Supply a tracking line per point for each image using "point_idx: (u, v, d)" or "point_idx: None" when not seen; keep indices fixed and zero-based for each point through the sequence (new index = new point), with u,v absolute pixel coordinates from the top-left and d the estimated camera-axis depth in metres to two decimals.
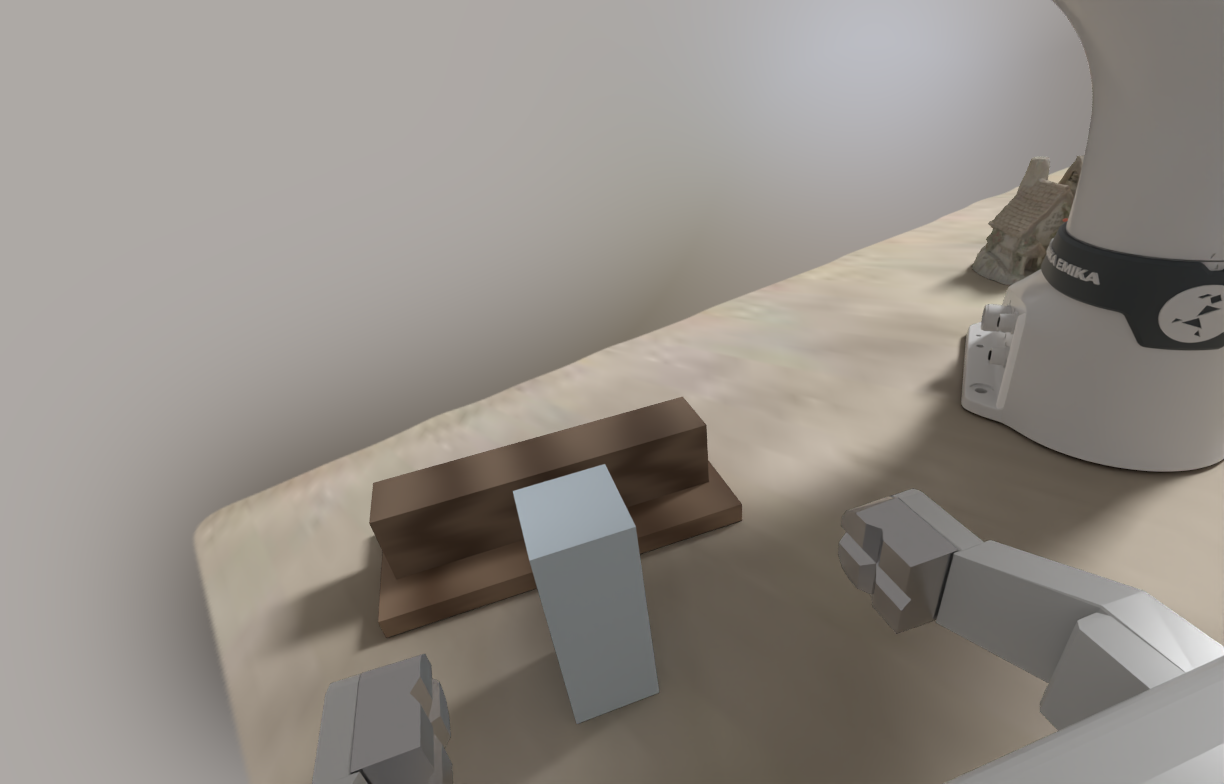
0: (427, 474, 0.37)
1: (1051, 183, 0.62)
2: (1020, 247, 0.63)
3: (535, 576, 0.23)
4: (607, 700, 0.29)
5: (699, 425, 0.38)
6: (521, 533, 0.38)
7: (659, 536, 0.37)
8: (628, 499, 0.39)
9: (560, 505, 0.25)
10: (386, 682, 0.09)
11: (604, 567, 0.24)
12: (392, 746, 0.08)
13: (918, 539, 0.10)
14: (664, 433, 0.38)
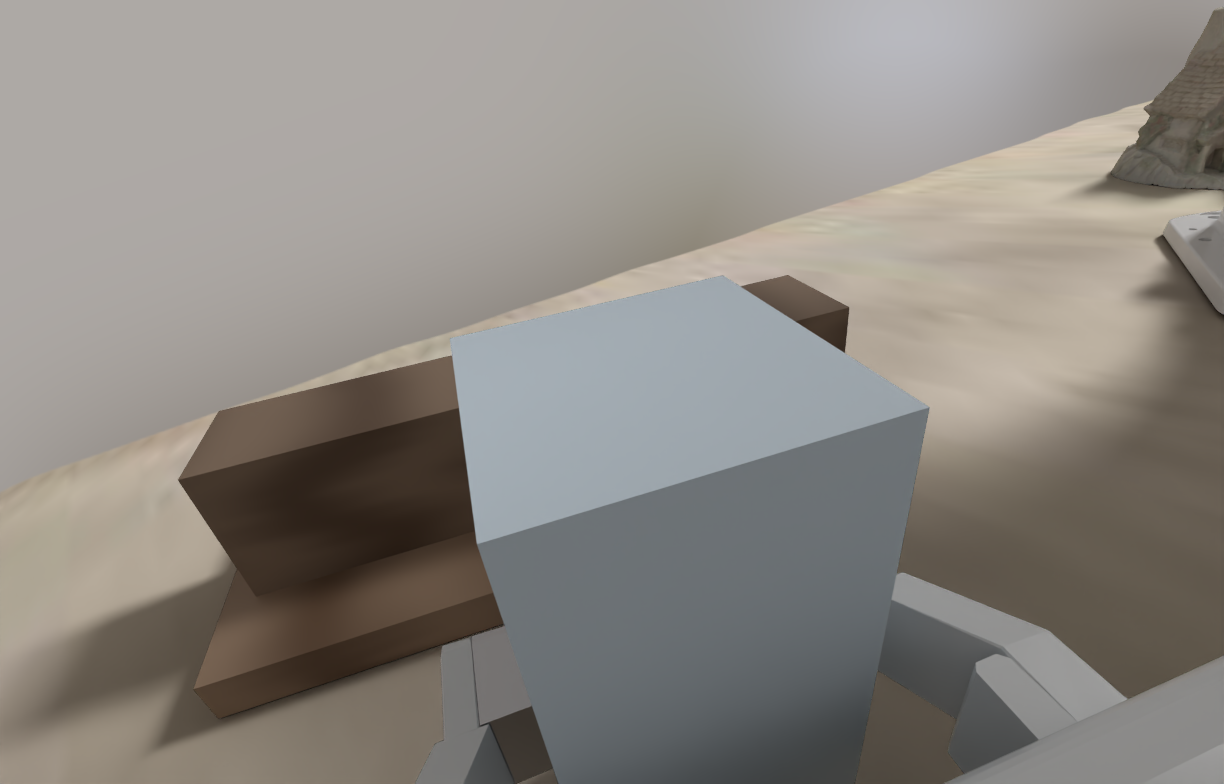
0: (322, 395, 0.20)
1: None
2: (1202, 132, 0.45)
3: (508, 616, 0.05)
4: None
5: (835, 309, 0.20)
6: None
7: None
8: None
9: (604, 363, 0.07)
10: (499, 644, 0.09)
11: (781, 575, 0.06)
12: (516, 701, 0.08)
13: None
14: None
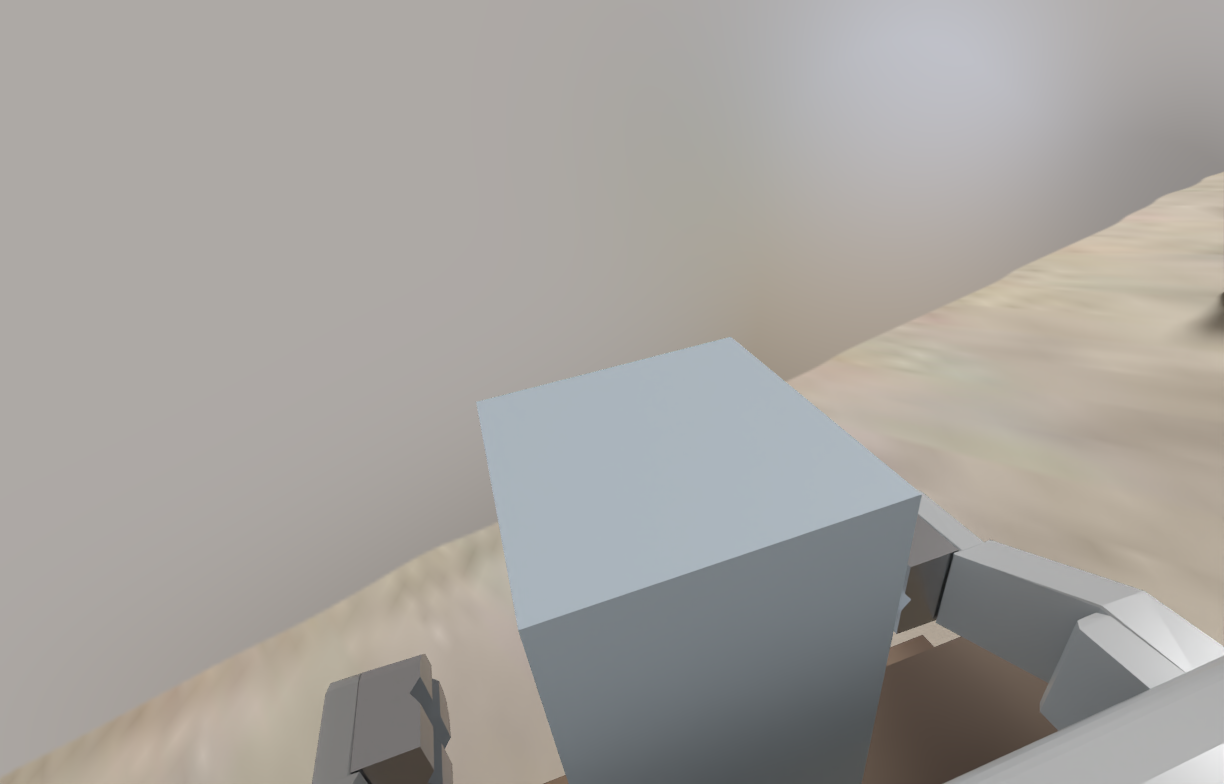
0: None
1: None
2: None
3: (543, 687, 0.06)
4: None
5: None
6: None
7: None
8: None
9: (622, 434, 0.08)
10: (386, 682, 0.09)
11: (787, 639, 0.07)
12: (392, 746, 0.08)
13: (918, 539, 0.10)
14: None
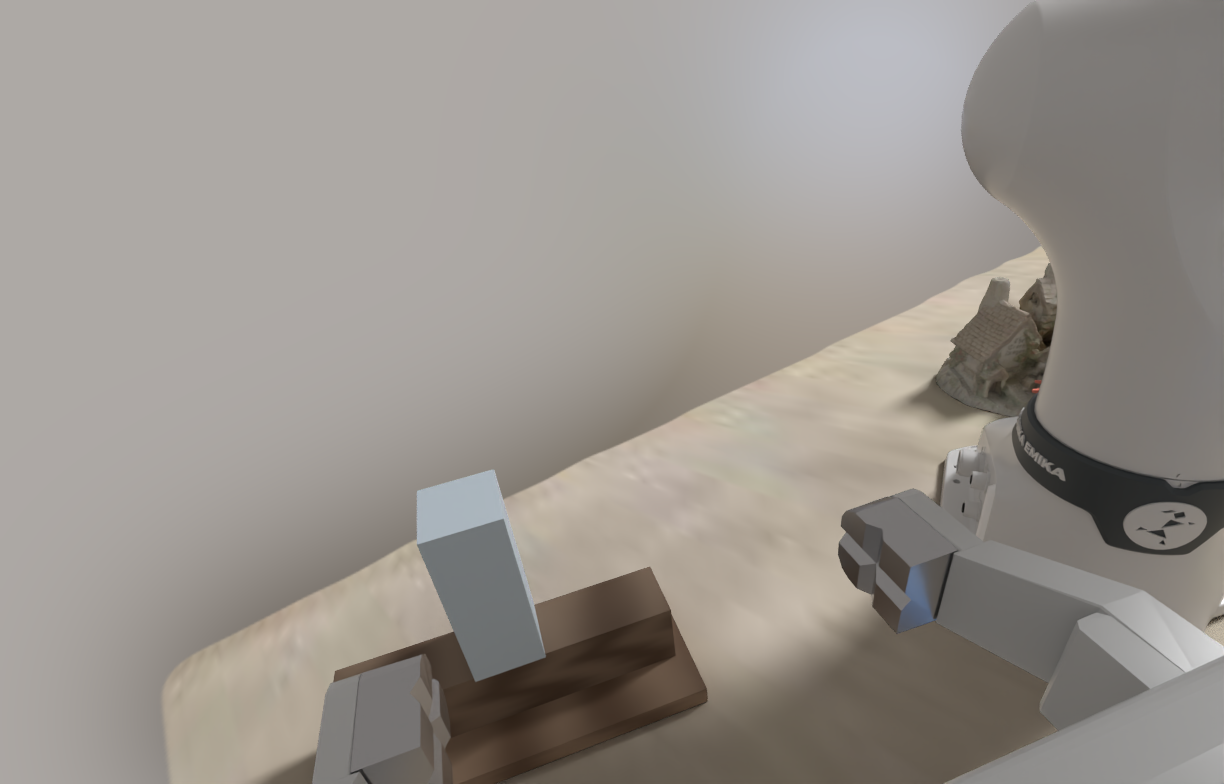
0: (389, 662, 0.37)
1: (1012, 307, 0.60)
2: (983, 371, 0.61)
3: (423, 557, 0.29)
4: (500, 662, 0.35)
5: (663, 609, 0.38)
6: (484, 720, 0.38)
7: (622, 725, 0.37)
8: (593, 679, 0.39)
9: (451, 502, 0.31)
10: (386, 682, 0.09)
11: (481, 550, 0.30)
12: (392, 746, 0.08)
13: (917, 539, 0.10)
14: (627, 618, 0.38)
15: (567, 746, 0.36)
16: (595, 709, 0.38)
